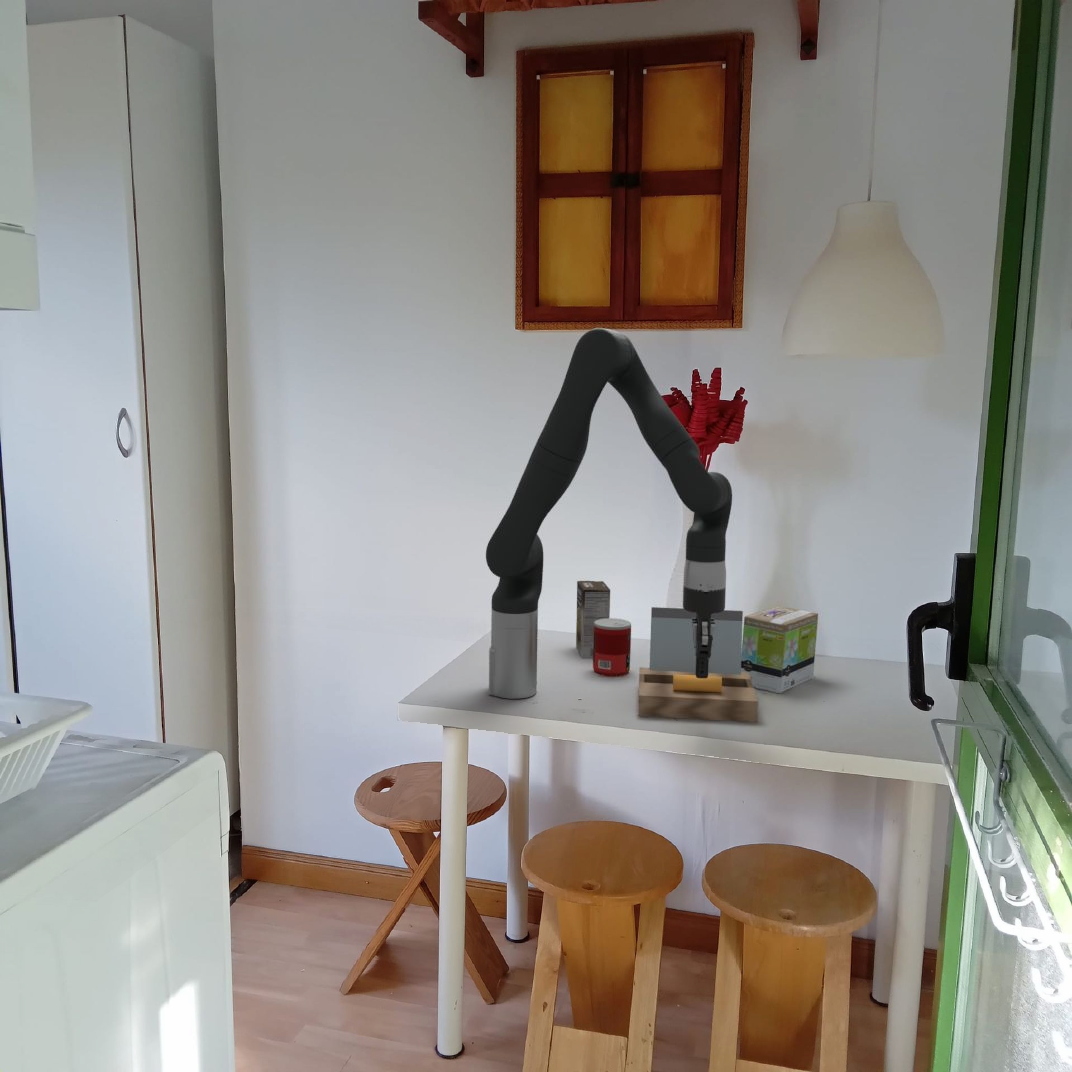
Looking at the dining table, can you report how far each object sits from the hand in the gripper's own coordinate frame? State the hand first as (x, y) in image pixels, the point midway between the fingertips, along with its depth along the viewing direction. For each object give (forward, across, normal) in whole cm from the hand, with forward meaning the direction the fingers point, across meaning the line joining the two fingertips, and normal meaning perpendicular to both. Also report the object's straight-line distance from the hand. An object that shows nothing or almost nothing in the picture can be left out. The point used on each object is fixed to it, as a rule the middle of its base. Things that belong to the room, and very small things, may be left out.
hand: (701, 677), depth 178 cm
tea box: (+10, -29, +18) cm, 35 cm away
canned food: (+9, -30, -17) cm, 36 cm away
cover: (-2, -17, 0) cm, 18 cm away
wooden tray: (+9, -12, 0) cm, 15 cm away
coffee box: (+9, -44, -22) cm, 50 cm away
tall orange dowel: (+5, -7, 0) cm, 8 cm away
